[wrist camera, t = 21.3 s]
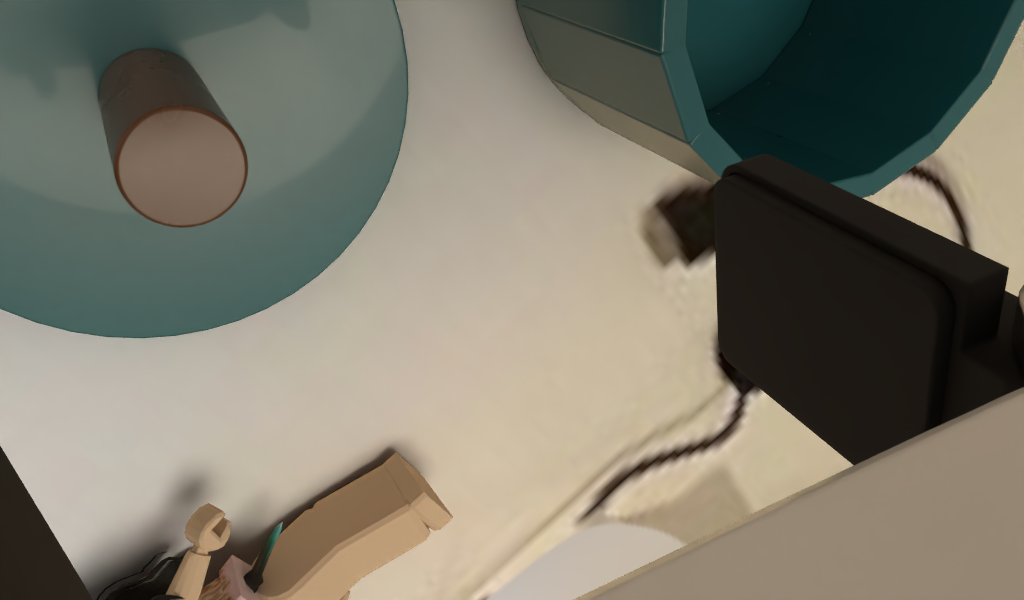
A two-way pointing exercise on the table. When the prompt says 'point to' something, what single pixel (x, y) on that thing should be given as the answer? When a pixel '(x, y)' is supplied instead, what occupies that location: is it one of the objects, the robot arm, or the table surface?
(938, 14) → the pot
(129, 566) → the table surface
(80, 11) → the lid
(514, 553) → the table surface
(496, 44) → the table surface
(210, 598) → the toy figure
